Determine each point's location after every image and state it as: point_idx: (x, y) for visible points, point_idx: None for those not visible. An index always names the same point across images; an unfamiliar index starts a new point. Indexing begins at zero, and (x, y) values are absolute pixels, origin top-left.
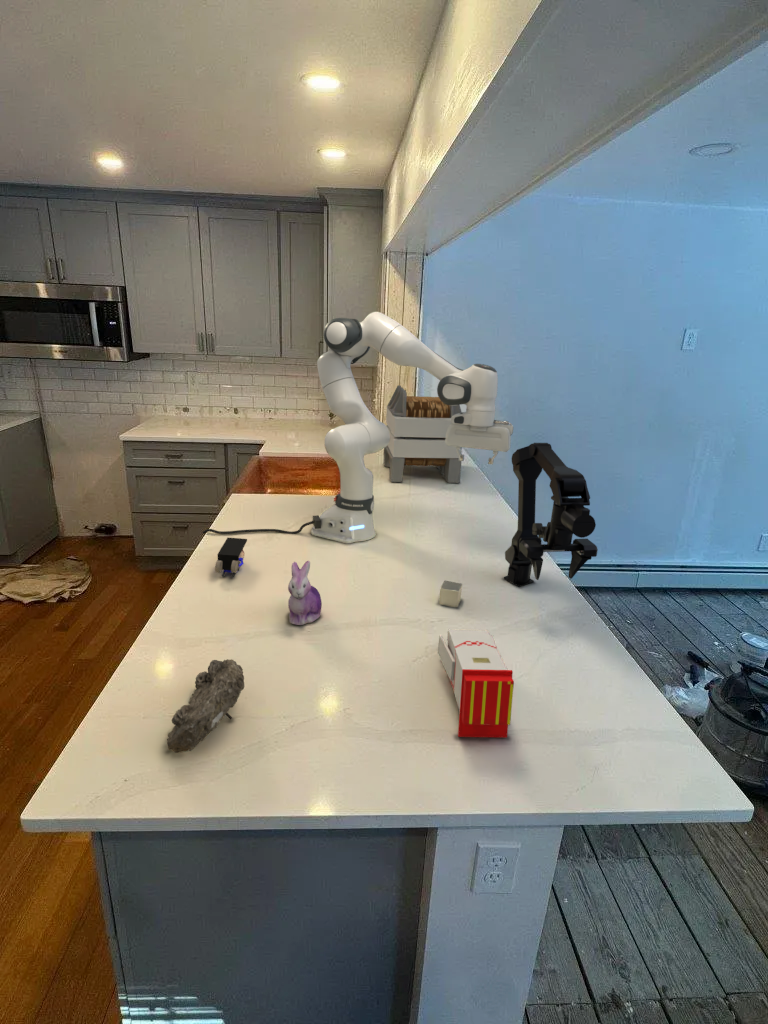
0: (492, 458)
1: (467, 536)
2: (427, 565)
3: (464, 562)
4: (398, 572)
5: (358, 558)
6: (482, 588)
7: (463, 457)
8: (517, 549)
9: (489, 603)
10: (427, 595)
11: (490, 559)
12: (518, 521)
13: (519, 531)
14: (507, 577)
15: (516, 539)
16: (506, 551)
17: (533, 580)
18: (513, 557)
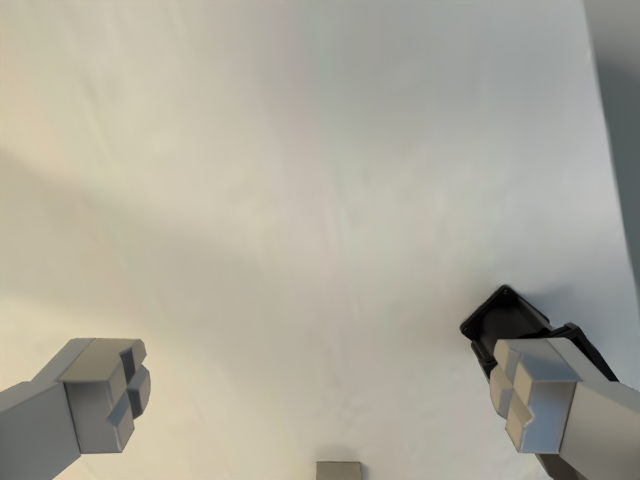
0: (583, 463)
1: (292, 4)
2: (227, 328)
3: (330, 265)
4: (168, 395)
5: (22, 360)
6: (404, 397)
7: (130, 409)
8: (537, 457)
9: (427, 455)
10: (280, 470)
11: (411, 207)
12: (584, 477)
13: (570, 465)
14: (473, 350)
15: (546, 465)
16: (489, 381)
17: (548, 320)
18: None
